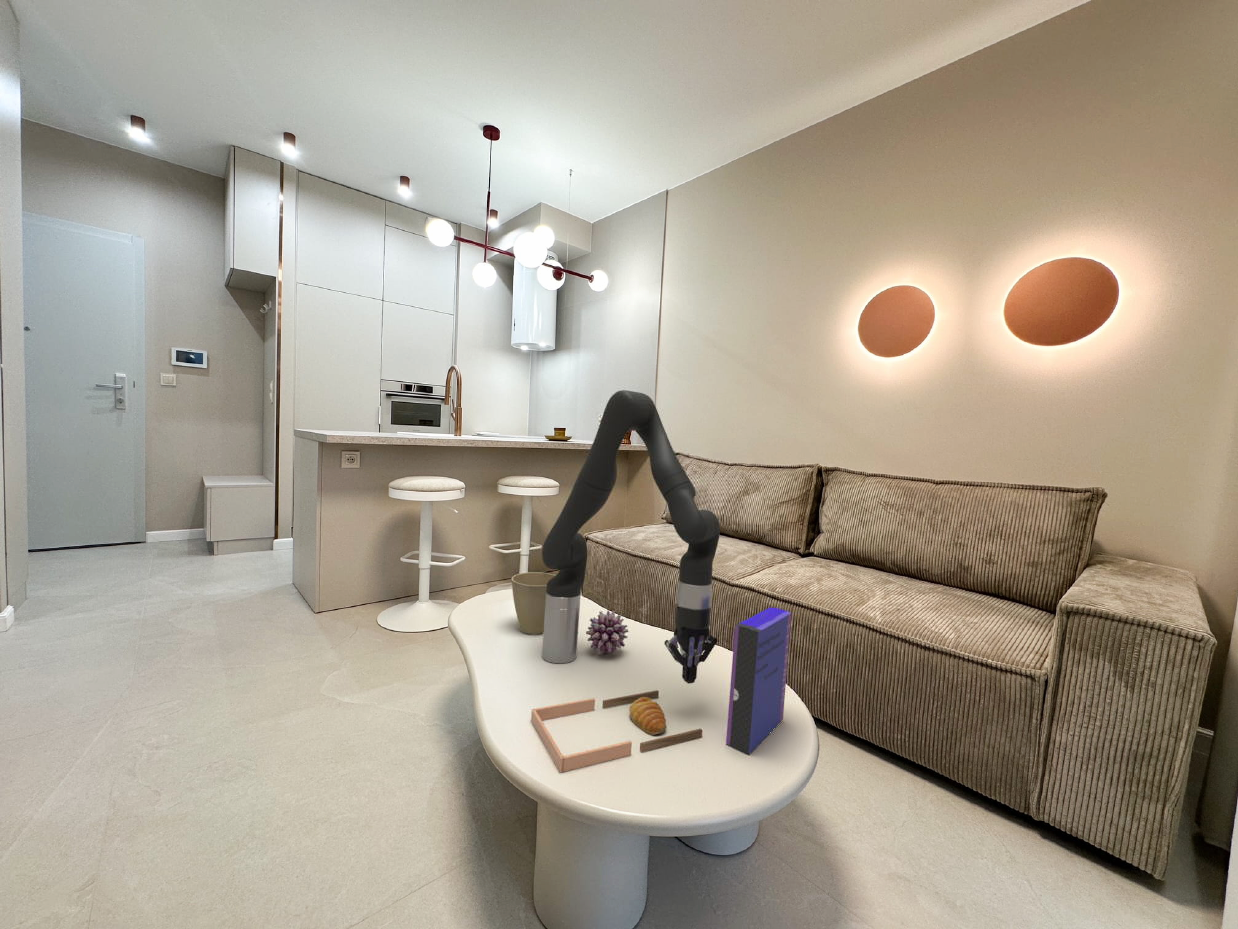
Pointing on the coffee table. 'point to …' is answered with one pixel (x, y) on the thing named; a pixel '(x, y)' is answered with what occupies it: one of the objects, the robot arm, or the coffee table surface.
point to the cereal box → (758, 678)
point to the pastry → (648, 716)
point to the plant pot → (530, 600)
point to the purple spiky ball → (607, 632)
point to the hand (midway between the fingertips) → (688, 681)
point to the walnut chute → (656, 742)
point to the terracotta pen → (578, 758)
